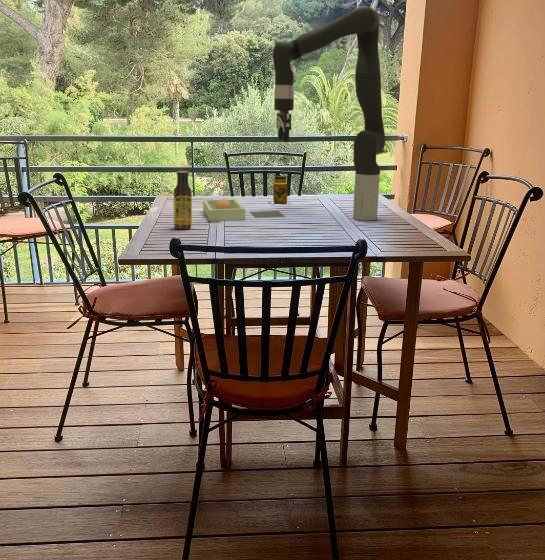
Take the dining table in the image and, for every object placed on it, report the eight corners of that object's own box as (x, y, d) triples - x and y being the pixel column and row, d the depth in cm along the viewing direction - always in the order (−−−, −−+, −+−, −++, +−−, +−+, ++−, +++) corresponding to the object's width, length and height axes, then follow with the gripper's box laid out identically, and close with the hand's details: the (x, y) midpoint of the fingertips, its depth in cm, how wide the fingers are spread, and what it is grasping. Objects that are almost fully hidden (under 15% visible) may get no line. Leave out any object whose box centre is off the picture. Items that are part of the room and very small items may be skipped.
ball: (232, 215, 224) (231, 199, 222) (216, 216, 223) (216, 200, 221) (229, 212, 229) (229, 197, 228) (214, 213, 228) (214, 198, 226)
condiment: (276, 205, 248) (277, 177, 245) (267, 202, 255) (267, 175, 252) (291, 204, 252) (292, 176, 248) (282, 201, 259) (282, 174, 255)
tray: (245, 220, 217) (245, 209, 216) (209, 222, 214) (209, 210, 213) (235, 209, 238) (235, 199, 236) (203, 211, 235) (203, 200, 234)
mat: (285, 217, 224) (285, 216, 223) (254, 218, 221) (254, 217, 221) (278, 211, 235) (278, 210, 235) (249, 212, 232) (249, 211, 232)
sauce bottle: (175, 230, 201) (172, 172, 195) (173, 226, 207) (170, 170, 201) (193, 229, 203) (191, 172, 197) (191, 225, 209) (189, 170, 203)
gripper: (298, 97, 217) (297, 142, 222) (288, 97, 230) (288, 139, 235) (278, 97, 215) (278, 142, 220) (270, 97, 228) (270, 139, 233)
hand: (283, 140), depth 227 cm, fingers open, 8 cm apart
